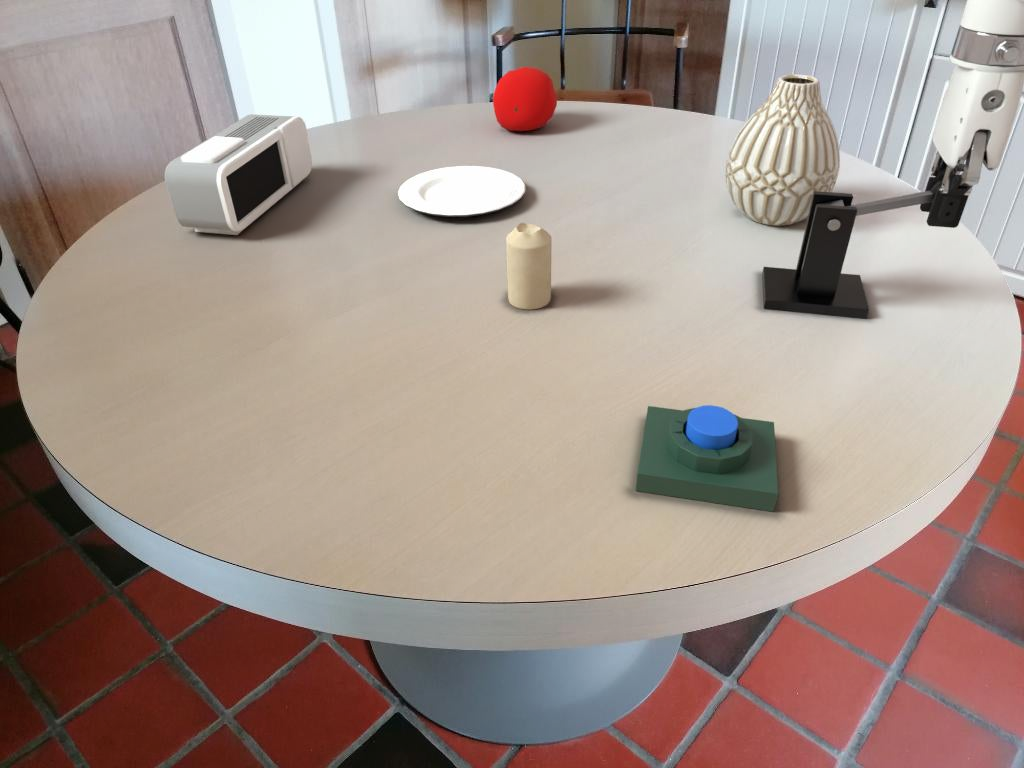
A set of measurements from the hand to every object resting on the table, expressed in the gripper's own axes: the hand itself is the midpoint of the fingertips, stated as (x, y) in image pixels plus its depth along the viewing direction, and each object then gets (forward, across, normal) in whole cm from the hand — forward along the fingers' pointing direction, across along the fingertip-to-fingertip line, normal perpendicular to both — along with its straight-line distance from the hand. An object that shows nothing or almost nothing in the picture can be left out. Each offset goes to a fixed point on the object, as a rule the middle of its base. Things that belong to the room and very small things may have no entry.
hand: (938, 217), depth 86 cm
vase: (+12, +25, +15) cm, 32 cm away
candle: (+12, -8, +46) cm, 49 cm away
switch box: (+12, -35, +24) cm, 44 cm away
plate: (+12, +22, +64) cm, 69 cm away
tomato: (+12, +60, +62) cm, 87 cm away
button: (+8, -35, +24) cm, 43 cm away
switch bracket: (+12, 0, +11) cm, 16 cm away
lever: (0, 0, +5) cm, 5 cm away
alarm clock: (+12, +13, +97) cm, 99 cm away
